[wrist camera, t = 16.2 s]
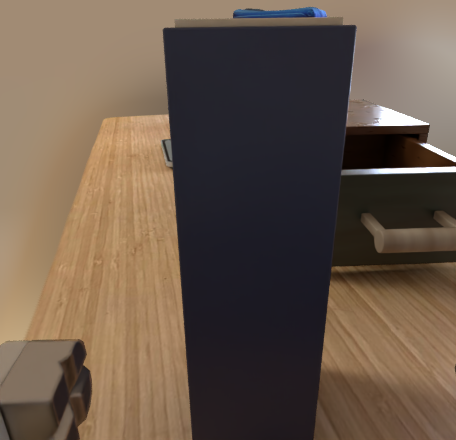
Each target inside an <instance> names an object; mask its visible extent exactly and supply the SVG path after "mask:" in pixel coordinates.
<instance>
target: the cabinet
mask: <svg viewBox="0 0 456 440" xmlns="http://www.w3.org/2000/svg"><path fill="white" fill-rule="evenodd" d="M429 127H430V125H429V124H426V123H424V122H421V121H419V120H416V119H413V118H411V117H408V116H405V115H403V114H400V113H397V112H395V111H392V110H390V109H387V108H384V107H381V106H379V105H376V104H374V103H371V102H368V101H366V100H349V105H348V115H347V124H346V134H345V135H387V134H407V135H409V136H411V137H413V138H415V139H417V140H420V141H422V142H424V143H426V142H427V137H428V132H429Z"/></svg>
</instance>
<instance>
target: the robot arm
mask: <svg viewBox="0 0 456 440" xmlns="http://www.w3.org/2000/svg"><path fill="white" fill-rule="evenodd" d="M86 355H87V353H86V349H85V345H84V342H83V341H82V340H80V339H68V340H32V341H6V342H5V343H3V344H1V345H0V440H80V437H79V433H78V428H77V427H78V426H79V425H80V424H81V423H82V422H83V421H85V420H86V418H87V415H88V412H89V408H90V404H91V396H92V379H91V373H90V371H89V370H88V369H87V368H86V367H85V366H84V365H83V363H84V360H85V358H86ZM455 372H456V366H455Z"/></svg>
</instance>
